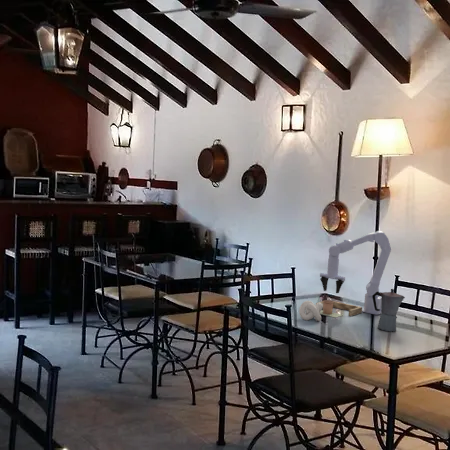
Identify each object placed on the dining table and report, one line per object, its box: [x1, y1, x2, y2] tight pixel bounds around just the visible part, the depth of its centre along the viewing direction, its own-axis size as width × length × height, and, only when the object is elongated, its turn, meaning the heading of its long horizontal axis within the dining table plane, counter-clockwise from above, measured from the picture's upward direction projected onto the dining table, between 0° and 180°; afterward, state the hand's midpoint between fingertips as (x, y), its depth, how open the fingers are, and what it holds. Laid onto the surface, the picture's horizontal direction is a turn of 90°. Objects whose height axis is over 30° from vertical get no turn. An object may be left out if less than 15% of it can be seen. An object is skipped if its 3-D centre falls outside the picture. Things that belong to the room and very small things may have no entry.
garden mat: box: [320, 309, 343, 318], centre depth 325 cm, size 14×8×1 cm, turn 51°
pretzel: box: [298, 300, 323, 322], centre depth 309 cm, size 11×12×9 cm
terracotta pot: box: [322, 299, 334, 314], centre depth 325 cm, size 6×6×6 cm
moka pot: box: [372, 288, 406, 333], centre depth 299 cm, size 10×15×20 cm, turn 89°
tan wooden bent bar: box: [315, 300, 363, 317], centre depth 334 cm, size 21×13×3 cm, turn 51°
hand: (331, 291), depth 338 cm, fingers open, 7 cm apart
